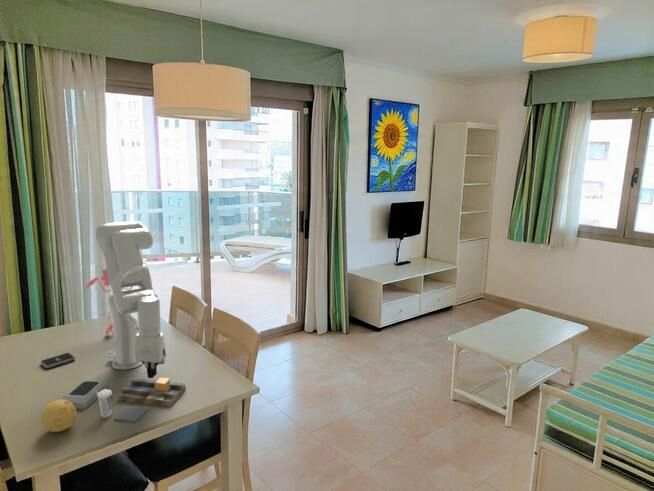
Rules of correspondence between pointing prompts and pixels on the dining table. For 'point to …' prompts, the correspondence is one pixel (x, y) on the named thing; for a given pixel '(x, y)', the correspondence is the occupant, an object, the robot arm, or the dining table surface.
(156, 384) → the switch tab
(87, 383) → the grey electronic device
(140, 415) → the mat
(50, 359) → the external hard drive
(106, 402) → the milkshake
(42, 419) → the stress ball
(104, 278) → the figurine
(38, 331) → the dining table surface
